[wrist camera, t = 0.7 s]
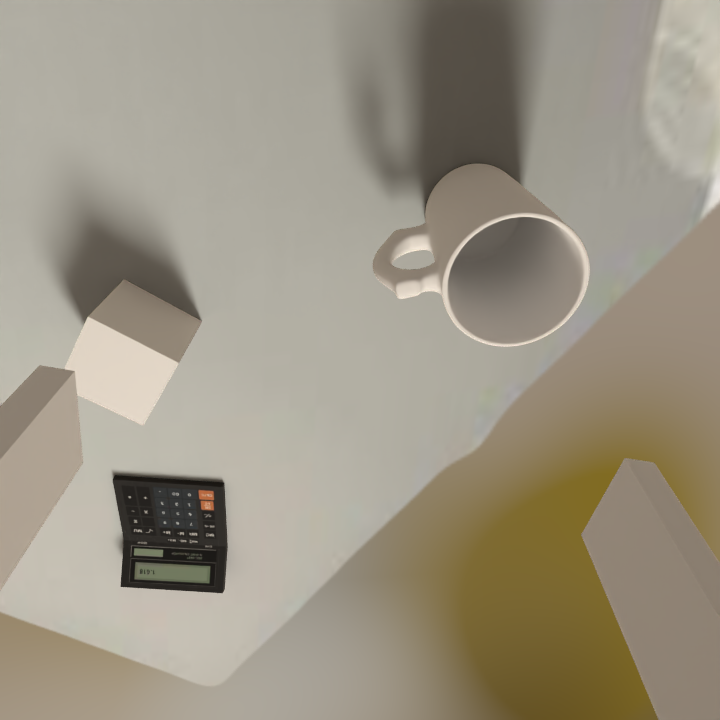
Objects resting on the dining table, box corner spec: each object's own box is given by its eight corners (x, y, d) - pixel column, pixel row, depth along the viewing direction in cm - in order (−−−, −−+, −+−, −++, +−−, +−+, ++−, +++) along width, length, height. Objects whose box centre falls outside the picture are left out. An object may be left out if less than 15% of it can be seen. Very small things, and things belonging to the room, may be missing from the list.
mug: (525, 150, 34) (593, 201, 24) (525, 253, 38) (586, 337, 27) (363, 175, 35) (363, 235, 25) (378, 274, 39) (383, 363, 28)
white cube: (169, 378, 43) (143, 426, 38) (95, 341, 42) (56, 385, 36) (202, 320, 41) (178, 363, 35) (124, 278, 39) (87, 316, 34)
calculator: (225, 480, 49) (217, 505, 46) (229, 569, 55) (222, 596, 52) (116, 472, 48) (102, 497, 46) (132, 563, 54) (121, 589, 52)
